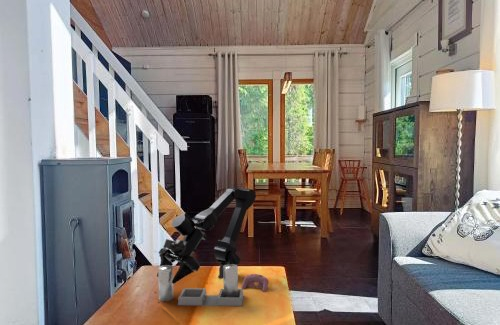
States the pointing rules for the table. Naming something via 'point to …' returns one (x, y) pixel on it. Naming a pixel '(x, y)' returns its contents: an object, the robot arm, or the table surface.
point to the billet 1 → (165, 282)
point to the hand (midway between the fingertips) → (165, 279)
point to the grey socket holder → (208, 298)
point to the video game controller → (253, 278)
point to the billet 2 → (230, 280)
